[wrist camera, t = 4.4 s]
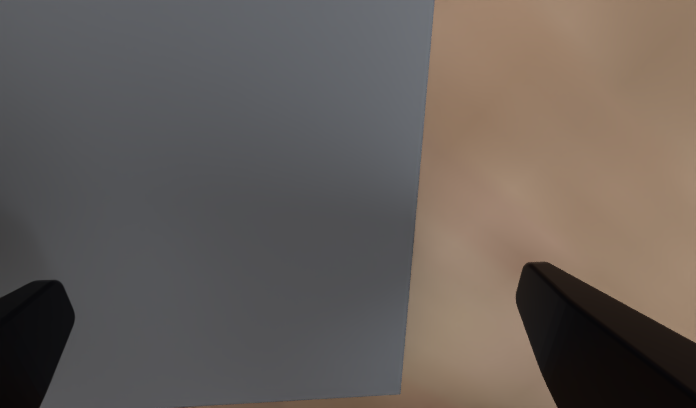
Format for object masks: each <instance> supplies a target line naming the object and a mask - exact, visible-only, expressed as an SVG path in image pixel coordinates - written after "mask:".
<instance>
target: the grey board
mask: <svg viewBox="0 0 696 408" xmlns="http://www.w3.org/2000/svg"><path fill="white" fill-rule="evenodd" d="M434 1H435V0H0V298H1V297H3V296H5V295H7V294H9V293H11V292H12V291H14V290H16V289H18V288H20V287H22V286H24V285H26V284H28V283H30V282H32V281H35V280H58V281H60V282H61V283H62V284H63V286H64V288H65V290H66V293H67V295H68V297H69V300H70V302H71V304H72V307H73V309H74V312H75V322H74V326H73V328H72V331H71V333H70V336H69V338H68V341H67V343H66V346H65V348H64V351H63V353H62V356H61V358H60V361H59V363H58V366H57V368H56V371H55V373H54V376H53V378H52V381H51V383H50V386H49V388H48V390H47V393H46V395H45V397H44V399H43V402H42V404H41V406H40V408H176V407H193V406H210V405H227V404H244V403H261V402H278V401H295V400H312V399H329V398H346V397H363V396H380V395H397V394H400V392H401V381H402V369H403V358H404V346H405V335H406V323H407V312H408V300H409V289H410V277H411V266H412V254H413V243H414V231H415V220H416V208H417V197H418V185H419V174H420V162H421V151H422V139H423V128H424V116H425V105H426V93H427V82H428V70H429V59H430V47H431V36H432V24H433V13H434Z"/></svg>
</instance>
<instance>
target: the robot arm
mask: <svg viewBox="0 0 696 408" xmlns="http://www.w3.org/2000/svg"><path fill="white" fill-rule="evenodd" d="M516 304H517V307H518V310H519V313H520V316H521V319H522V321H523V324H524V327H525V330H526V333H527V335H528V338H529V341H530V344H531V346H532V349H533V352H534V355H535V358H536V360H537V363H538V366H539V368H540V371H541V373H542V376H543V378H544V380H545V382H546V385H547V387H548V389H549V391H550V393H551V395H552V397H553V399H554V401H555V403H556V405H557V407H558V408H696V343H695V342H693V341H691V340H689V339H687V338H686V337H684V336H682V335H680V334H678V333H676V332H675V331H673V330H671V329H669V328H667V327H665V326H664V325H662V324H660V323H658V322H656V321H654V320H653V319H651V318H649V317H647V316H645V315H643V314H642V313H640V312H638V311H636V310H634V309H632V308H631V307H629V306H627V305H625V304H623V303H621V302H620V301H618V300H616V299H614V298H612V297H610V296H609V295H607V294H605V293H603V292H601V291H599V290H598V289H596V288H594V287H592V286H590V285H588V284H587V283H585V282H583V281H581V280H579V279H577V278H576V277H574V276H572V275H570V274H568V273H566V272H565V271H563V270H561V269H559V268H557V267H555V266H554V265H552V264H550V263H548V262H528V263H526V264H525V265H524V266H523V269H522V272H521V276H520V280H519V284H518V288H517V291H516ZM74 322H75V312H74V309H73V307H72V304H71V302H70V300H69V297H68V295H67V293H66V290H65V288H64V286H63V284H62V283H61V282H60V281H58V280H35V281H32V282H30V283H28V284H26V285H24V286H22V287H20V288H18V289H16V290H14V291H12V292H11V293H9V294H7V295H5V296H3V297H1V298H0V408H40V406H41V404H42V402H43V399H44V397H45V395H46V393H47V390H48V388H49V386H50V383H51V381H52V378H53V376H54V373H55V371H56V368H57V366H58V363H59V361H60V358H61V356H62V353H63V351H64V348H65V346H66V343H67V341H68V338H69V336H70V333H71V331H72V328H73V326H74Z"/></svg>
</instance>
